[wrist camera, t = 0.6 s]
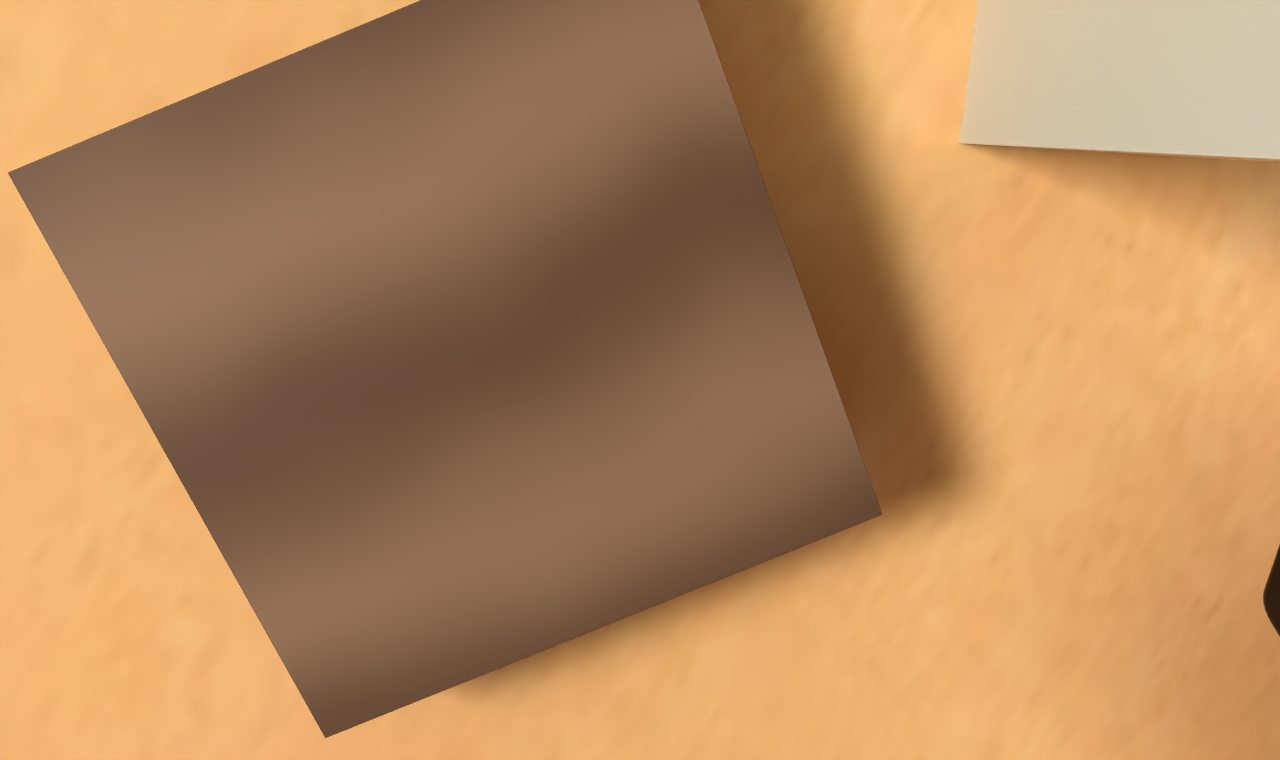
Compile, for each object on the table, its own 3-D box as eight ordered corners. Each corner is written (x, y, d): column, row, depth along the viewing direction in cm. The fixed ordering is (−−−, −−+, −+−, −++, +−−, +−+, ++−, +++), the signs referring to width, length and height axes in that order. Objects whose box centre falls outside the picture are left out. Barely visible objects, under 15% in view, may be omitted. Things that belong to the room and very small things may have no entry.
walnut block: (835, 457, 23) (882, 514, 20) (358, 649, 24) (325, 738, 20) (644, -64, 20) (662, -102, 17) (98, 164, 21) (7, 172, 17)
